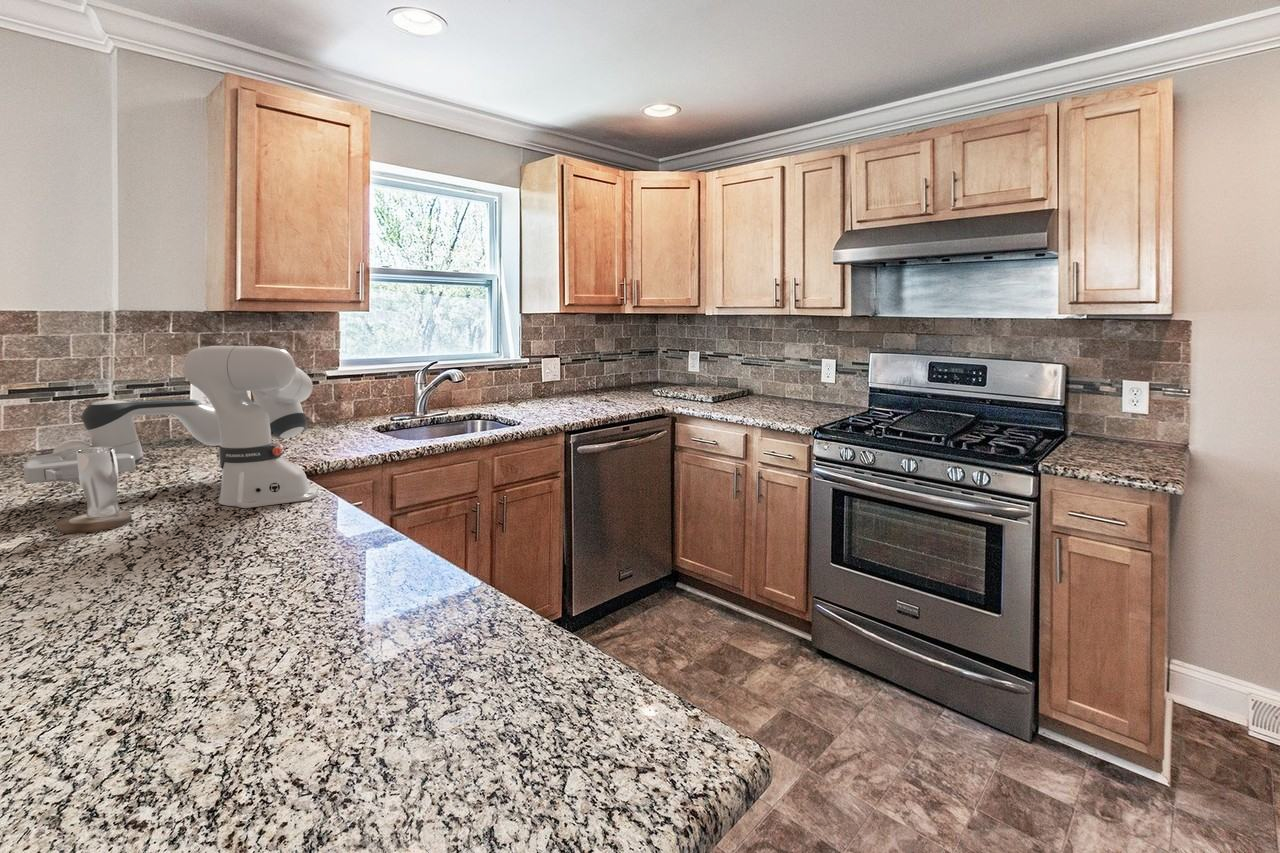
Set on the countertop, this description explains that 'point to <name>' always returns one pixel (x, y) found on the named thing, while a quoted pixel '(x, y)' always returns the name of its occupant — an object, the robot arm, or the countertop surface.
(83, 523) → the walnut board
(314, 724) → the countertop surface
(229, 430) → the robot arm
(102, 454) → the beer glass
